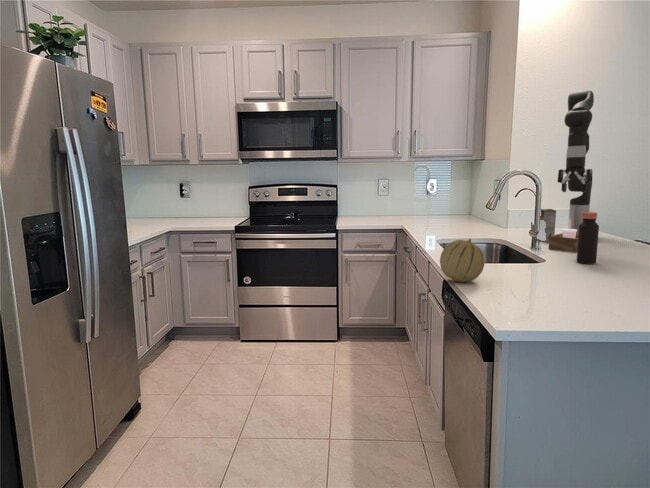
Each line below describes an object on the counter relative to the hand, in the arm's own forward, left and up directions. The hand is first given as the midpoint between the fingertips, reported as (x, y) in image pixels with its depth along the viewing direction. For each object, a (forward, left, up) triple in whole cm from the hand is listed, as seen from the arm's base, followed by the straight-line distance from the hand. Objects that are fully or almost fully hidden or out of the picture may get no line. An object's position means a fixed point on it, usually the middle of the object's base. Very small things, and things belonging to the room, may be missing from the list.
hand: (573, 192), depth 199 cm
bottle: (+27, +19, -26) cm, 42 cm away
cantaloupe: (+86, +6, -26) cm, 90 cm away
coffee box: (-12, -19, -26) cm, 35 cm away
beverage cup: (+3, +1, -26) cm, 26 cm away
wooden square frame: (+3, 0, -26) cm, 26 cm away
